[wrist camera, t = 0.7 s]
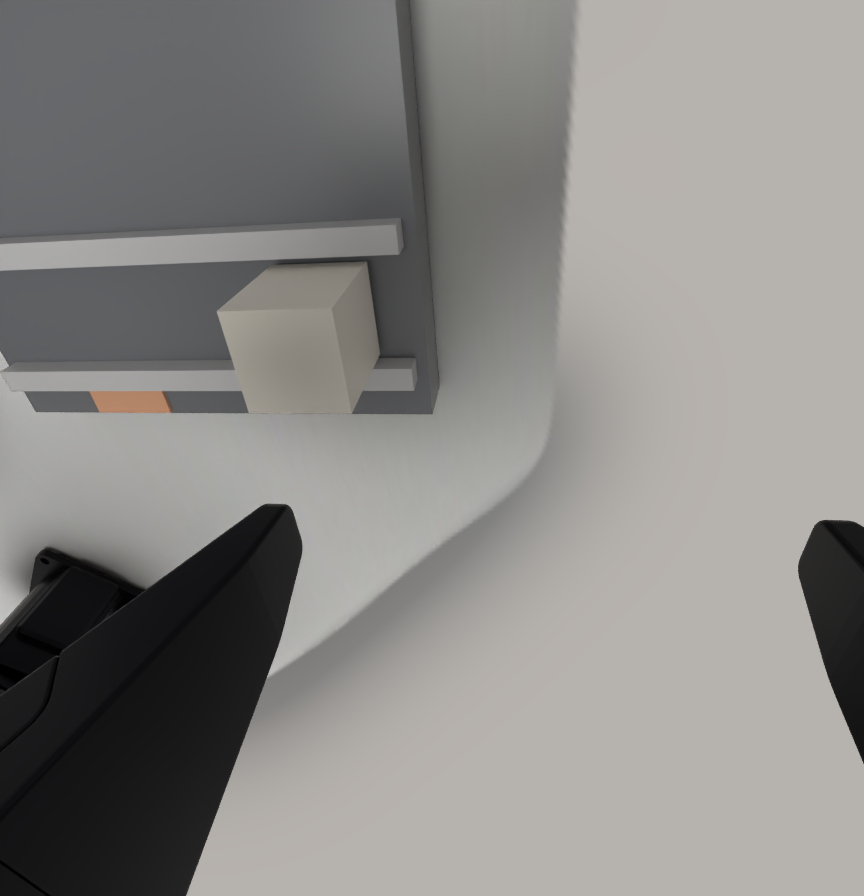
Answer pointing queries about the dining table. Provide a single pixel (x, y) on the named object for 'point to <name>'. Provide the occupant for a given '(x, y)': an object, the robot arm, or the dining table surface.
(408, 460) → the dining table surface
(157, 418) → the dining table surface
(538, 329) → the dining table surface
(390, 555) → the dining table surface
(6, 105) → the switch panel
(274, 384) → the tab
